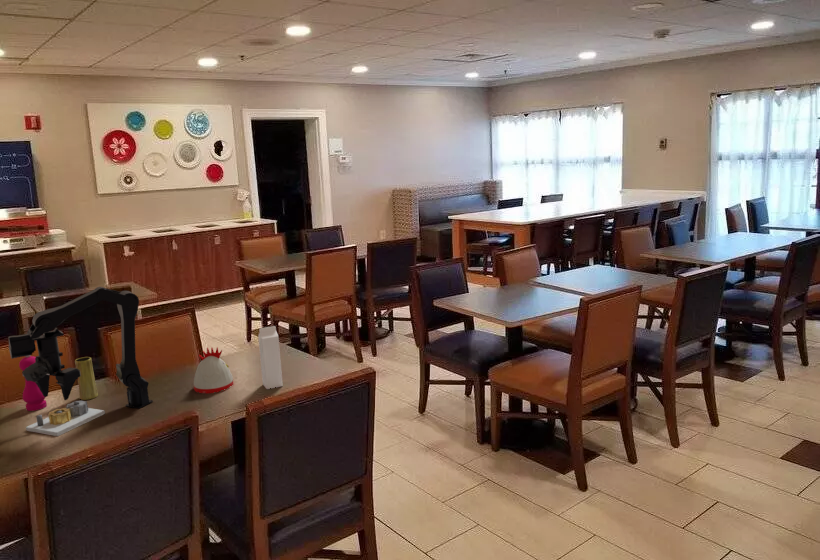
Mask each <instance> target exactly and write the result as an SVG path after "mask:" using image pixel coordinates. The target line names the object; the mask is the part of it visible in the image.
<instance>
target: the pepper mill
mask: <svg viewBox="0 0 820 560" xmlns="http://www.w3.org/2000/svg"><path fill="white" fill-rule="evenodd" d="M35 358H36V356H34V355H33V356H32V355H28V356H24V357H22V358H21V360H20V361H19V364H18V366H19V367H18V368H19V369H20V370H22V372H23V371H24V370H25V369H26V368H27V367H29V366H30V365H32V364H34V363H35ZM22 377H24V375H23V374H22ZM24 380H25V385H24V388H23V392H22V401H23V402H24V403H26V404H25V409H26V411H28V412H34V411H39V410H43V409H44V408H46V407H47V400H46V397H44V396H43V394H42V392H41V391H40V389H39V387H38V386H37V384H36V383H35V382H32V381H27V380H26V379H25V378H24Z"/></svg>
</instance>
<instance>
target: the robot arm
mask: <svg viewBox="0 0 820 560" xmlns="http://www.w3.org/2000/svg"><path fill="white" fill-rule="evenodd" d="M101 301H104V302H109V303H111V304H116V306H117V310H118V311H117V312H118V314H119V316H120V327H121V328H120V332H121V333H120V335H121V336H120V337H121V361H120V363H116V364H115V366H116V373H115V376H116V377H117V378H118V379H119V381H120V383H122V384H123V385H124V386H125V387H126V397H127V403H126V404H125V407H128V408H134V409H141V408H143V407H145V406H147V405H149V404H151V403H153V401H154V400H152V399H150V397H149V389H148V388H149V382H148V381H147V380H146V379H145V378H144V377H142V375H141V372H140V368H139V365H138V362H137V355H136V354H137V353H136V321H135V319H136V317H137V314H138V310H139V304H140V299H139V296H138V295H136V294H135V293H133V292H131V291H129V290H122V291H118V290H115V289H110V288H105V287H104V286H97V287H95V288H94V289H93V290H89V292H86V293H84V294H82V295H80V296H78V297H76V298H75V299H72V300H70V301H68V302H66V303H64V304H62V305H59V306H56V307H52V308H47V309H44V310H42V311H38V312H36V313H35V314H34V315H33V317H32V321H31V322H32V324H31V325H30V327H29V329H28V331H27V332H26V333H25V334H19V335H9V336H8V352H9V354H10V359H11V360H13V359H17V358H24V357H25V356H28V355H31V356H32V355H33V354H35V352H36V351H37V353H38V355H37V356H35V357H36V358H35V363H34V364H32V365H30V366H29V367H27V368H26V369H25V370H24V371H23V370H22V371H21V374H22V376H23V375H24V376H23V377H24V380H25V379H26V380H27V381H32V382H35V383H36V384H37V386H38V387H39V389H40V391H41V392H42V394H43V396H44V397H45V398H47V397H48V396H49V391H50V389H49V388H50V379H51V378H50V377H51V376H52V377H55V380H56V382H55V384H57V385H59V386H60V389H61V392H62V393H61V394H62V397H63V400H64V401H67V400H68V399H69V398H70V395H71V392H72V389H73V388H74V385H75V383H76V381H77V380H78V377H81V374H80V370H79V369H77V368H76V367H67V368H65V367H66V366H65V364H62V362H61V361H62V360H61V357H63V356H64V352H61V351H60V347H59V341H58V337H62V336H64V335H65V334H64V333H63V331H62V330H60V329H58V327H59V326H60V325H61V324H62V323H63V322H64V321H66V320H67V319H68V318H70V317H72V316H74V315H76V314H78V313H80V312H82V311H83V310H86V309H87V308H90V307H91V306H95V305H96V304H99V302H101ZM35 341H36V343H35ZM36 345H37V346H36Z"/></svg>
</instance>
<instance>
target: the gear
mask: <svg viewBox="0 0 820 560" xmlns="http://www.w3.org/2000/svg"><path fill="white" fill-rule="evenodd" d="M57 411H62V413H58V414H56V412H57ZM47 417H49V422H50V424H54V425H57V424H64V423H65V422H67V421H70V420H71V413H70V409H66V407H62V408H56V409H55V408H54V410H52V411H49V412H48V415H47Z"/></svg>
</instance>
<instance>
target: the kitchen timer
mask: <svg viewBox="0 0 820 560" xmlns="http://www.w3.org/2000/svg"><path fill="white" fill-rule="evenodd" d="M210 349H211V351H210ZM210 349H209V347H207V348H206V351H204V350H202V354H203V356H202V354H199V355H198V356H199V358H200V359H201V361H200V362H199V363H198V365H197V368H196V370H195V374H194V377H193V390H194V392H196V393H198V392H199V393H198V394H214V392H216V393H220V392H219V391H221V390H224V389H227V388H229V387H230V386H232V385H233V386H234V377H233V374H232V372H231V370H230V368H229V367H230V366H229V365H228V364H227V363H226V362H225V361H224V360H223V359H221V356H222V352H223V349H221V350H220V351H219V347H218V346H216V349H215V350H216V351H214V348H213V347H211V348H210ZM233 386H232V387H233ZM229 389H230V388H229ZM227 390H228V389H227ZM224 391H225V390H224ZM221 392H222V391H221Z"/></svg>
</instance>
